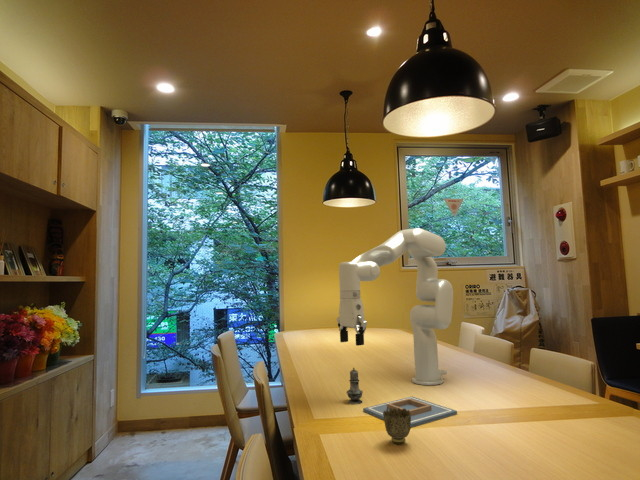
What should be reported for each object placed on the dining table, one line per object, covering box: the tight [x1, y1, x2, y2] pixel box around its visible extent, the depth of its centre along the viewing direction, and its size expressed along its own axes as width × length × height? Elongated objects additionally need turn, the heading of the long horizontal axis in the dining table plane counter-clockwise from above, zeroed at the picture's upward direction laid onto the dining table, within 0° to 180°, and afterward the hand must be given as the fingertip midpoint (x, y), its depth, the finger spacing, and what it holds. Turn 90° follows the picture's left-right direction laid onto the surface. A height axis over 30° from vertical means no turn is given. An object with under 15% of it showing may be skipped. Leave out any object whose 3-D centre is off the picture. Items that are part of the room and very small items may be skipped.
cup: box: [383, 408, 411, 446], centre depth 109 cm, size 8×7×8 cm
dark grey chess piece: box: [346, 367, 364, 405], centre depth 146 cm, size 6×6×12 cm
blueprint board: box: [362, 395, 458, 429], centre depth 132 cm, size 22×20×2 cm
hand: (351, 343), depth 148 cm, fingers open, 9 cm apart
